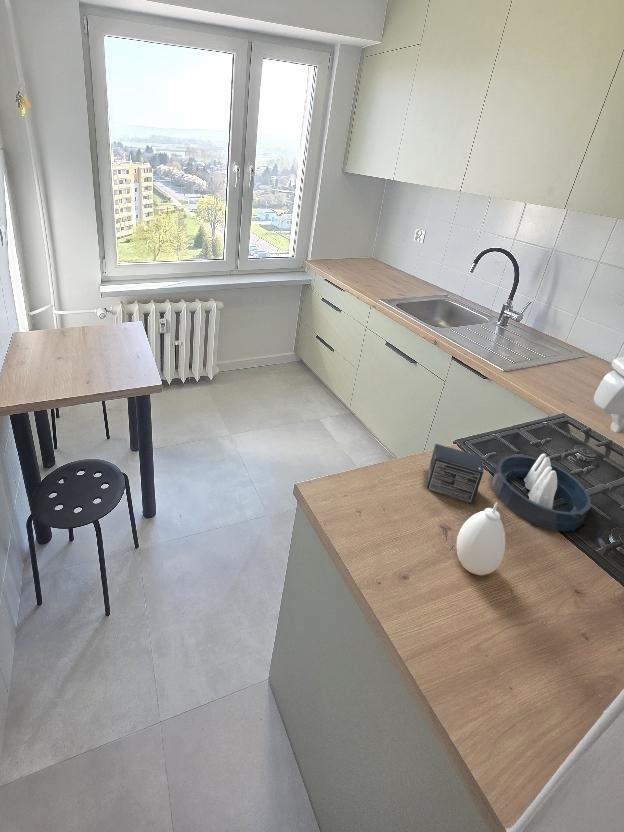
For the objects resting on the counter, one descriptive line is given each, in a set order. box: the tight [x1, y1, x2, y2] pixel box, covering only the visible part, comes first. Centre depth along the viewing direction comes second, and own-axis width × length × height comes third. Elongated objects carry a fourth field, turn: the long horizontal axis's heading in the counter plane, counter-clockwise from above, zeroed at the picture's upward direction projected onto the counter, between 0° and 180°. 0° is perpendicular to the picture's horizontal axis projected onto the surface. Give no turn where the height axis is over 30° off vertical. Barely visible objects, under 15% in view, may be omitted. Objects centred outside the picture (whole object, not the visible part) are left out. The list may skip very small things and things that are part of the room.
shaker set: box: [523, 453, 557, 509], centre depth 99 cm, size 12×4×11 cm, turn 153°
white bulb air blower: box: [456, 501, 506, 576], centre depth 81 cm, size 8×8×18 cm
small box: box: [426, 443, 485, 504], centre depth 101 cm, size 11×6×10 cm, turn 66°
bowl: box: [491, 454, 592, 532], centre depth 100 cm, size 18×18×6 cm
